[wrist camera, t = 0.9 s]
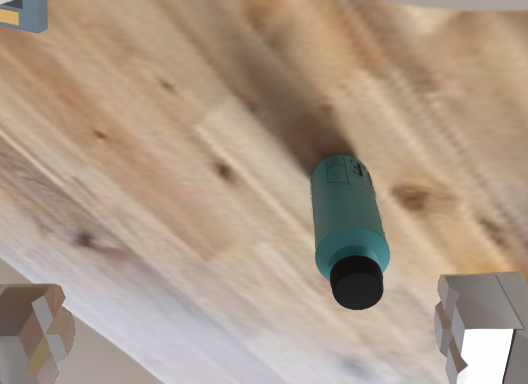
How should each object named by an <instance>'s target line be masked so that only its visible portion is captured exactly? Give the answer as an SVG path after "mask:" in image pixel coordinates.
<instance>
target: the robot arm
mask: <svg viewBox="0 0 528 384" xmlns="http://www.w3.org/2000/svg"><path fill="white" fill-rule="evenodd" d="M437 290H438V293H439V296H440V299H441V301H440V302H439V303H438V304H437V305H436V306H435V316H434V323H435V334H436V339H437V344H438V347H439V350H440V352H441V353H442V354H443V355H444V356H446V357H447V362H446V369H445V370H446V373H447V376H448V379H449V382H450V384H528V284H527V283H526V281H525V279H524V278H523V276H522V274H520V273H519V272H517V271H515V272H493V273H479V274H446V275H440V278H439V281H438V289H437ZM64 300H65V295H64V293H63V290H62V288H61V286H59V285H57V284H0V384H54V382H55V380H56V378H57V376H58V374H59V370H58V367H57V363H59V362H60V361H61V360H63V359H64V358H65V357H67V356H68V354H69V352H70V350H71V347H72V345H73V341H74V335H75V327H74V320H73V317H72V314H71V312H69V311H68V310H67V309H66V308H64V307H63V306H62V304H63V302H64Z"/></svg>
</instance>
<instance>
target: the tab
mask: <svg viewBox="0 0 528 384" xmlns="http://www.w3.org/2000/svg"><path fill="white" fill-rule="evenodd" d="M9 1H12V0H0V4H3V3H6V2H9Z"/></svg>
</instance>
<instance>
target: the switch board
mask: <svg viewBox="0 0 528 384" xmlns="http://www.w3.org/2000/svg"><path fill="white" fill-rule="evenodd" d="M0 26H5V27H10V28H14V29H19V30H24V31H29V32H33V33H40V32H42V31H44V30H46V29H47V0H12V1H9V2H6V3H3V4H0Z"/></svg>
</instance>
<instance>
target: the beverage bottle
mask: <svg viewBox="0 0 528 384" xmlns="http://www.w3.org/2000/svg"><path fill="white" fill-rule="evenodd" d="M367 170H368V169H366V167H365V166H364V165H363V164H362V163H361V162H360V160H357V159H356V158H354V157H352V156H349V155H334V156H330V157H328V158H326V159H324V160H323V161H321V162H320V163H319V164H318V165H317V167H316V168H315V170H314V172H312V173H313V174H312V177H311V182H310V183H311V189H310V190H312V192H311V191H310V192H311V193H310V195H311V194H312V206H313V220H314V226H313V227H314V231H315V248H316V252H315V261H316V265H317V267H318V269H319V271H320V273H321V274H322V275H323V276H324V277H325V278H326V279H328V280H329V281H330V284H331V287H332V291H333V295H334V298H335V299H336V301H337V302H338V303H339V304H340V305H341V306H343V307H345V308H348V309H352V310H363V309H367V308H370V307H372V306H373V305H375V304H376V303H377V302H378V301H379V300H380V299H381V297H382V294H383V275H382V273H383V272H384V271H385V269H386V268H387V266H388V263H389V259H390V250H389V246H388V243H387V241H386V238H385V231H383V227H382V223H381V222H382V221H381V218H380V215H379V211H378V207H377V204H376V200H375V196H376V194H375V196H374V193H375V190H373V187H372V186H373V185H372V179H371V178H370V177H371V176H370V175H369V172H368V171H367ZM373 192H374V193H373ZM311 210H312V209H311ZM311 214H312V213H311ZM381 216H382V215H381Z"/></svg>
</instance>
